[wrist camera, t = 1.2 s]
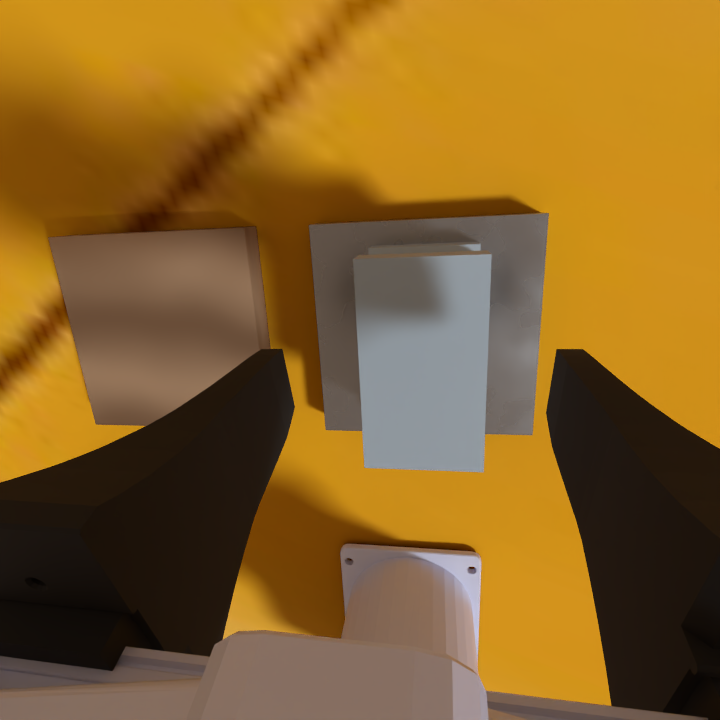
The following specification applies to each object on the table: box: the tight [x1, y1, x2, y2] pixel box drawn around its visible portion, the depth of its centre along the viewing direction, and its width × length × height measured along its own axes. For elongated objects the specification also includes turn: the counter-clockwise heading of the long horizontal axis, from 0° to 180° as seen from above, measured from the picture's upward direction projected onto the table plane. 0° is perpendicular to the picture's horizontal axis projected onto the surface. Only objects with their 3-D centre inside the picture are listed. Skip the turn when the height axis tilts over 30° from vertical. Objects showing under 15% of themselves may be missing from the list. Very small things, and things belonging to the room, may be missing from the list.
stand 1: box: [48, 226, 270, 426], centre depth 24 cm, size 10×10×2 cm
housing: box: [353, 242, 492, 472], centre depth 19 cm, size 8×4×5 cm, turn 3°
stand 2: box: [309, 213, 549, 435], centre depth 22 cm, size 10×10×2 cm
